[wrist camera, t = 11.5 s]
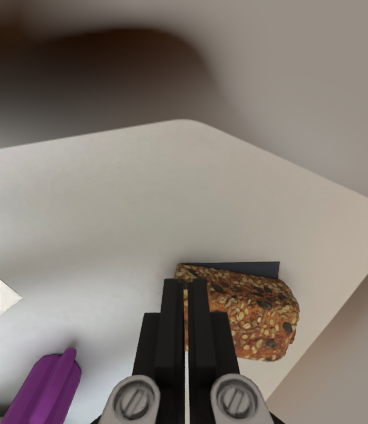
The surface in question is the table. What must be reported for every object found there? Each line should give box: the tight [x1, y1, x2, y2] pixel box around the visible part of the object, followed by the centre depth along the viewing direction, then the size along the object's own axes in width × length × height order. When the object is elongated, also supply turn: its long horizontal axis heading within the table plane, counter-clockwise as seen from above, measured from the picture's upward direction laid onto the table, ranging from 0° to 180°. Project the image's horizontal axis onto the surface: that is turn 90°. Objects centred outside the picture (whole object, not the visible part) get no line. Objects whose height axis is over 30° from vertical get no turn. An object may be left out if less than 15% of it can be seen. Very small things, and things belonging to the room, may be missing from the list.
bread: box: [174, 264, 300, 362], centre depth 41 cm, size 19×11×10 cm, turn 78°
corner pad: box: [181, 262, 280, 279], centre depth 46 cm, size 12×16×1 cm
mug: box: [0, 348, 81, 424], centre depth 45 cm, size 9×16×15 cm, turn 150°
